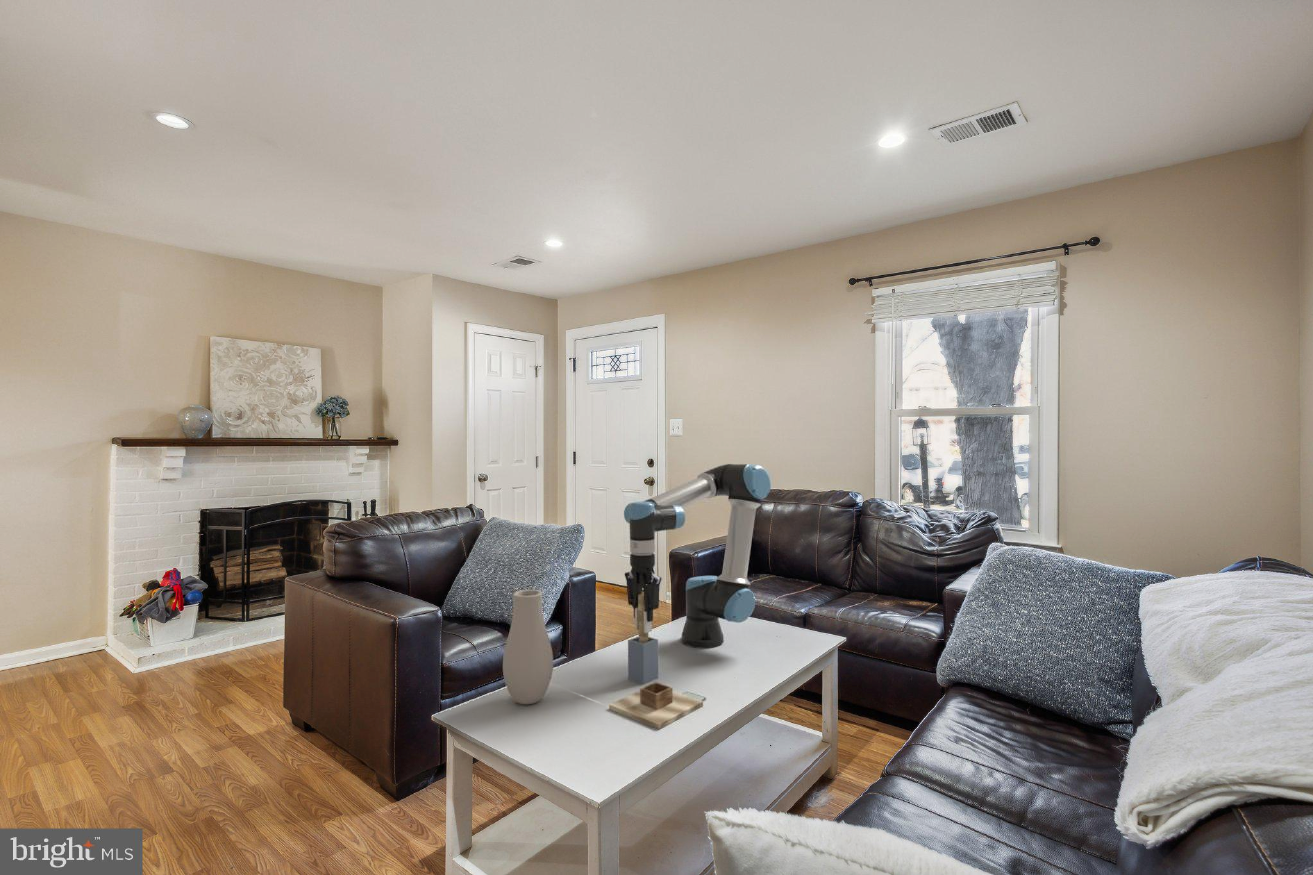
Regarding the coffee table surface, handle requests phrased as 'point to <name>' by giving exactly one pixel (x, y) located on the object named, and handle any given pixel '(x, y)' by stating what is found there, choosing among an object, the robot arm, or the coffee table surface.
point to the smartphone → (694, 696)
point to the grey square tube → (642, 660)
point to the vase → (527, 650)
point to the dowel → (641, 619)
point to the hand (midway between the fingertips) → (643, 630)
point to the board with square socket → (656, 705)
